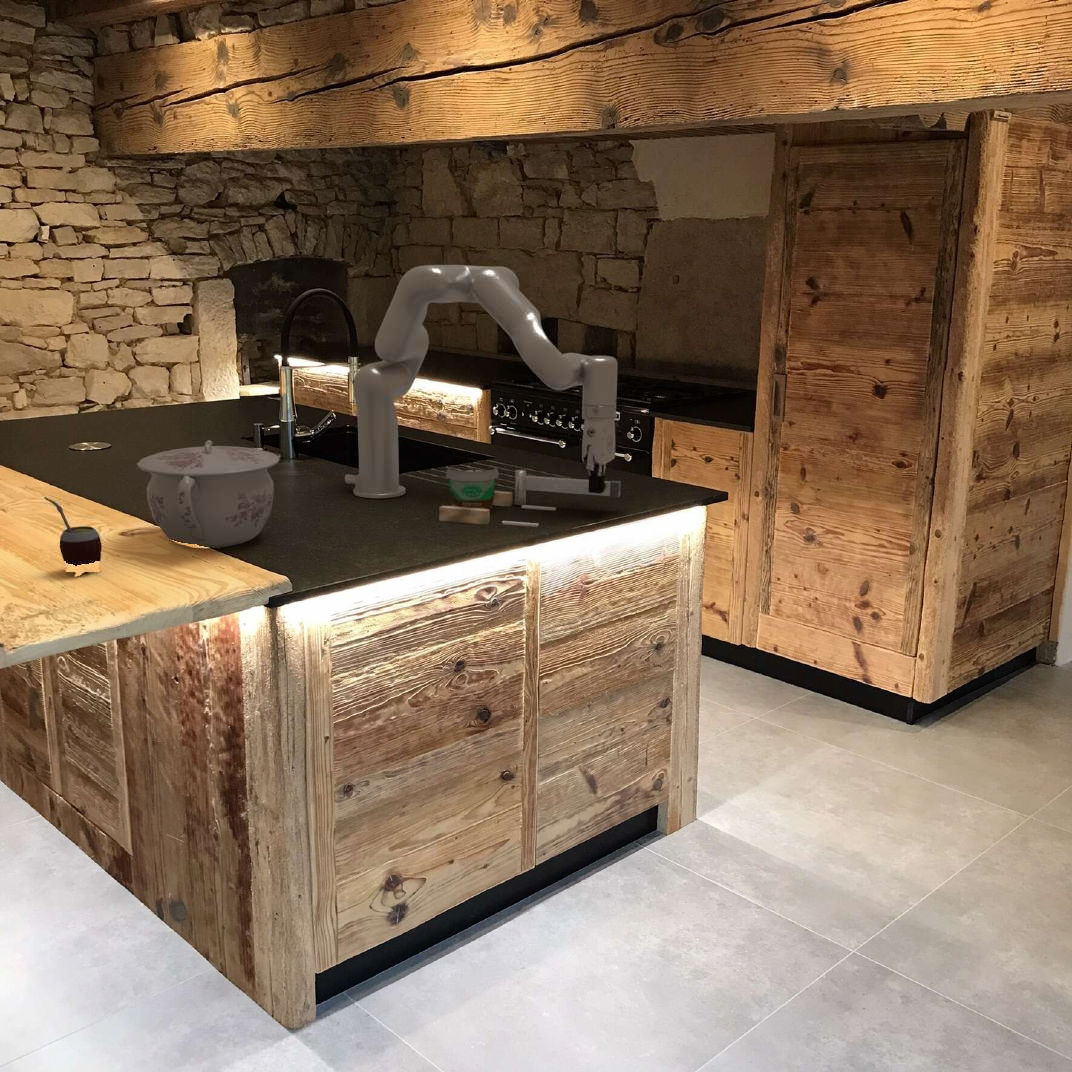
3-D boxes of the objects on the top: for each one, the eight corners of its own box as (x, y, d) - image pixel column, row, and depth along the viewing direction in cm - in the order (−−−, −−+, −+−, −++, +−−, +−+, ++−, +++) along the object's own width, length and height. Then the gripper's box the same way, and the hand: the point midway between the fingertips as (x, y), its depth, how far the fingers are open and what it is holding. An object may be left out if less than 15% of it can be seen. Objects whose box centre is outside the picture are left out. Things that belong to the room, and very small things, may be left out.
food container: (450, 516, 245) (450, 473, 242) (445, 510, 250) (445, 467, 248) (504, 514, 248) (504, 471, 245) (497, 508, 254) (498, 465, 251)
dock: (439, 520, 241) (439, 507, 240) (467, 501, 260) (467, 488, 259) (486, 524, 238) (486, 511, 238) (512, 504, 257) (512, 492, 256)
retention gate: (617, 512, 250) (619, 478, 248) (514, 504, 256) (514, 471, 254) (619, 510, 252) (620, 476, 250) (516, 502, 258) (517, 469, 256)
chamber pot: (230, 517, 241) (225, 424, 236) (311, 539, 224) (307, 439, 219) (113, 541, 220) (104, 440, 215) (192, 568, 203) (185, 458, 198)
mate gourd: (109, 566, 204) (102, 488, 200) (94, 579, 196) (86, 497, 192) (68, 566, 203) (60, 487, 199) (51, 578, 196) (43, 497, 192)
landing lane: (502, 524, 239) (502, 521, 239) (522, 507, 255) (522, 504, 255) (537, 526, 237) (537, 524, 237) (555, 509, 253) (556, 507, 253)
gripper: (603, 417, 235) (600, 500, 240) (625, 409, 249) (622, 487, 253) (571, 415, 238) (568, 497, 243) (594, 406, 251) (592, 484, 256)
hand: (596, 492), depth 248 cm, fingers closed
